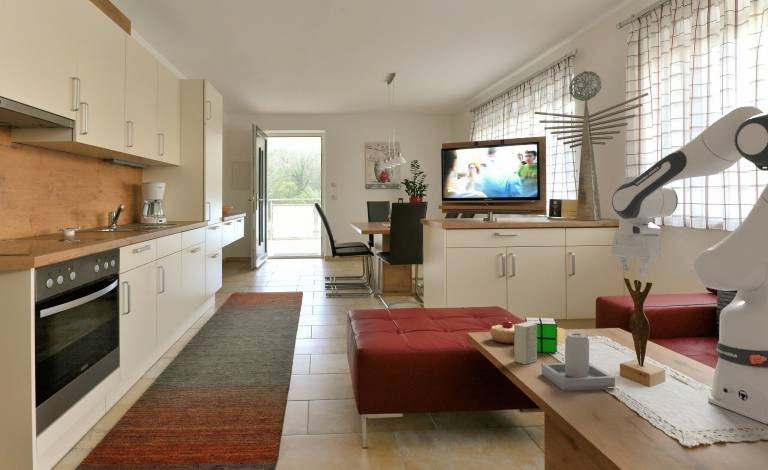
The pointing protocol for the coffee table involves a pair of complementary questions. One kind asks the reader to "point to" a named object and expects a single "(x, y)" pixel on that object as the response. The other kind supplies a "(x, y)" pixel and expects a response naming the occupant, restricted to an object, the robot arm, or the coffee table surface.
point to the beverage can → (577, 355)
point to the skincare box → (525, 342)
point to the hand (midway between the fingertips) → (634, 272)
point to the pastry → (503, 332)
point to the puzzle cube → (545, 334)
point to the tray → (593, 381)
